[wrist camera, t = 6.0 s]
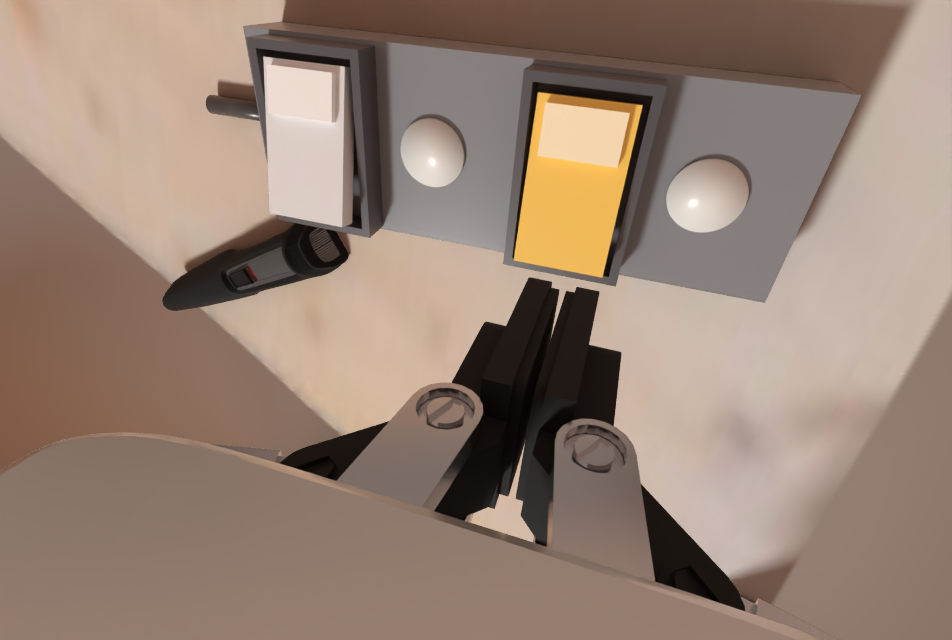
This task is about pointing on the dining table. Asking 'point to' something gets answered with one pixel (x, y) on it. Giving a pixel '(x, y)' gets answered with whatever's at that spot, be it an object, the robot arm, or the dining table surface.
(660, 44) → the dining table surface
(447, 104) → the power strip
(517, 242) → the amber rocker
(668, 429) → the dining table surface
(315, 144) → the white rocker switch
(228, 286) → the electric trimmer
